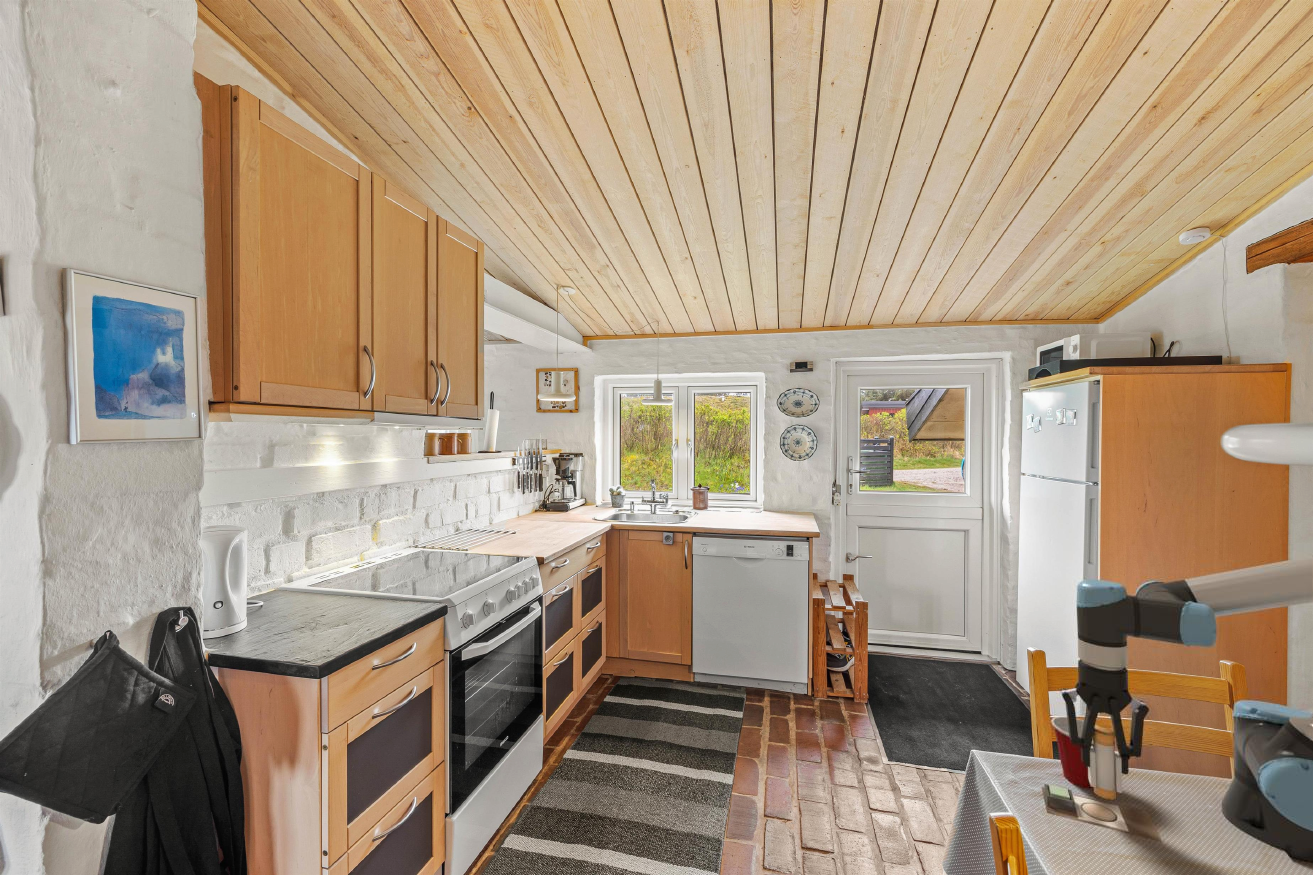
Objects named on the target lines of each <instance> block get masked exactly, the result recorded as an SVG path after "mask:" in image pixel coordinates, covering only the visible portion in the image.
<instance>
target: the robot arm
mask: <svg viewBox="0 0 1313 875" xmlns="http://www.w3.org/2000/svg"><path fill="white" fill-rule="evenodd" d="M1076 589H1077V590H1076V621H1077V622H1076V623H1077V624H1076V626H1077V628H1076V630H1077V657H1078V658H1079V659H1078V661H1077V671H1078V672H1077V676H1078V677H1077V678H1078V681H1077V683H1076V685H1075V687H1074V688H1070V689H1066V688H1061V689H1060V694H1061V697H1062V699H1063V700H1064V702H1065V710H1066V717H1067V720H1068V729H1069V737H1070V740H1071V742H1072V744H1073V745H1077V746H1079V747H1081V760H1082V762H1083V765H1084V766H1087V767H1088V779H1089V782H1090V785H1091V787H1096V759H1095V751H1094V749H1093V747H1092V746H1091V744H1092V739H1093V733H1094V728H1095V725H1096V722H1097V718H1098V716H1099V714H1106V715H1110V719H1111V720H1110V721H1111V723H1112V725H1111V726H1112V729H1113V732H1114V733H1115V744H1116V747H1117V750H1118V751H1116V750H1115V789H1116V793H1120V794H1123V778H1122V777H1123V776H1122V775H1129V761H1130V759H1131V757H1135V758H1140V757H1141V756H1142V750H1143V747H1142V746H1143V739H1144V737H1143V734H1144V725H1145V724H1144V723H1145V718H1146V716H1147V715H1148V713H1149V711H1150V708H1149V707H1148V705H1147V704H1146V703H1145V701H1143V700H1138V699H1136V698H1134V697H1132V696H1131V694H1130V692H1129V670H1128V668H1127V666H1128V664H1129V663H1128V661H1129V660H1128V637H1132V638H1138V639H1145V640H1152V641H1157V642H1164V643H1170V644H1177V645H1183V646H1186V647H1200V648H1201V647H1202V648H1210V647H1213V646H1214V645H1215V644H1216V642H1217V637H1218V633H1217V632H1218V629H1217V628H1218V626H1217V617H1223V616H1230V615H1235V614H1242V613H1243V614H1244V613H1250V612H1257V611H1263V610H1264V611H1265V610H1270V609H1277V608H1283V607H1290V606H1296V605H1303V604H1304V605H1305V604H1309V603H1310V604H1311V603H1313V555H1311V556H1310V555H1309V556H1305V557H1300V558H1294V559H1289V560H1283V561H1277V562H1272V563H1267V564H1261V565H1257V566H1251V567H1245V568H1240V569H1234V570H1229V571H1223V572H1218V573H1217V572H1216V573H1212V574H1207V575H1202V576H1201V575H1200V576H1196V577H1190V578H1185V579H1181V580H1174V581H1168V582H1166V581H1165V582H1164V581H1160V580H1149V581H1146V582H1143V583H1142V584H1140V585H1139V586H1138V587H1137V589H1136V591H1135V594H1134V595H1131V594H1128V592H1127V588H1126V587H1125V585H1123V584H1122V583H1118V582H1117V581H1109V580H1103V579H1084V580H1082V581H1080V582H1079V583H1078V584H1077V587H1076ZM1078 696H1079V698H1080V699H1081V700H1082V701H1083V703H1084V704H1085V705H1086V706H1085V715H1084V720H1083V721H1084V725H1083V730H1082V736H1081V738H1080V737H1078V730H1077V721H1076V719H1077V715H1076V714H1077V712H1076V708H1075V704H1074V703H1076V702H1077V697H1078ZM1129 705H1130V709H1131V710H1132V713H1131V724H1130V734H1129V745H1127V741H1126V737H1125V732H1124V728H1123V727H1124V726H1123V722H1122V715H1121V712H1122V711H1123V710H1124V709H1125V708H1127V707H1128V706H1129ZM1231 716H1232V718H1233V779H1232V781H1231V782H1230V784H1229V787H1228V789H1227V791H1226V793H1225V794H1224V796H1223V798H1222V801H1221V812H1222V813H1221V814H1222V815H1223V816H1224V818H1225V819H1226V820H1227V821H1228V822H1229V823H1230V824H1231V825H1233V826H1234V827H1235V828H1237V829H1238V830H1240V831H1241V832H1243V833H1245V834H1246V835H1249V836H1250V837H1252V838H1253V839H1256V840H1257V841H1260V842H1262V843H1265V844H1267V845H1270V846H1272V847H1274V848H1276V849H1280V850H1283V851H1284V852H1285V854H1287V855H1288V857H1291V858H1295V859H1299V860H1303V861H1307V862H1311V863H1313V713H1310V712H1308V711H1305V710H1301V709H1299V708H1294V707H1291V706H1287V705H1283V704H1277V703H1273V702H1272V703H1271V702H1266V701H1260V700H1248V699H1243V700H1238V701H1236V702H1235V703H1234V705H1233V712H1232V714H1231Z"/></svg>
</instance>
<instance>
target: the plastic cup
mask: <svg viewBox="0 0 1313 875" xmlns="http://www.w3.org/2000/svg"><path fill="white" fill-rule="evenodd" d="M1076 721H1077V730H1078V737H1080V738H1081V736H1082V730H1083V725H1084V720H1082V719H1080V718H1076ZM1050 723H1051V724H1052V726H1053V729H1054V734H1055V738H1056V742H1057V749H1058V754H1059V759H1060V760H1059V761H1060V763H1061V764H1060V765H1061V767H1062V773H1063V776H1064V778H1065V779H1066V780H1067V781H1068V782H1069V783H1071V784H1073V785H1076V786H1078V787H1081V788H1084V789H1088V790H1089V789H1091V790H1094V787H1091V785H1090V782H1089V779H1088V767H1087V766H1084V765H1083V762H1082V760H1081V747H1079V746H1077V745H1073V744H1072V742H1071V740H1070V737H1069V729H1068V720H1067V716H1054V717H1053V718H1052V719H1051V720H1050ZM1095 727H1100V726H1098V725H1097V724H1095ZM1091 746H1092V747H1093V739H1092V744H1091Z"/></svg>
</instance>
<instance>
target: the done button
mask: <svg viewBox="0 0 1313 875" xmlns="http://www.w3.org/2000/svg"><path fill="white" fill-rule="evenodd" d="M1048 785H1049V795H1050V796H1054V797H1059V798H1063V799H1067V800H1070V796H1069V793H1068V790H1067V789H1068V788H1064V787H1060V786H1055V785H1051V784H1048Z"/></svg>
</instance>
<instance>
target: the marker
mask: <svg viewBox="0 0 1313 875" xmlns="http://www.w3.org/2000/svg"><path fill="white" fill-rule="evenodd" d="M1115 744H1116V739H1115V733H1114V730H1111V729H1108V728H1106V727H1102V726H1099V727H1095V728H1094V733H1093V749H1094V751H1095V759H1096V787H1094V789H1093V792H1094V794H1096V795H1097V796H1098V797H1100V798H1103V799H1106V800H1116V799H1117V791H1116V789H1115V751H1116V749H1115Z"/></svg>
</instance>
